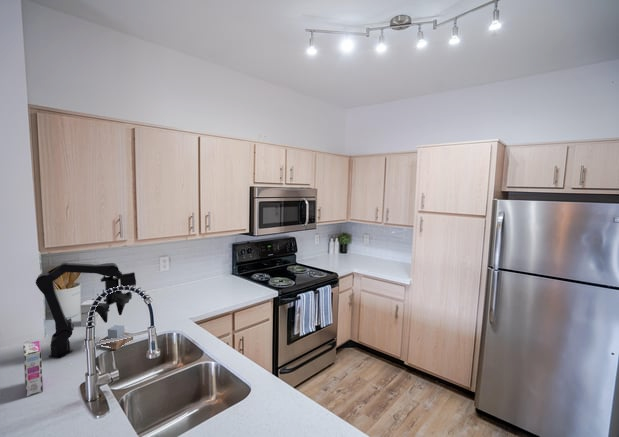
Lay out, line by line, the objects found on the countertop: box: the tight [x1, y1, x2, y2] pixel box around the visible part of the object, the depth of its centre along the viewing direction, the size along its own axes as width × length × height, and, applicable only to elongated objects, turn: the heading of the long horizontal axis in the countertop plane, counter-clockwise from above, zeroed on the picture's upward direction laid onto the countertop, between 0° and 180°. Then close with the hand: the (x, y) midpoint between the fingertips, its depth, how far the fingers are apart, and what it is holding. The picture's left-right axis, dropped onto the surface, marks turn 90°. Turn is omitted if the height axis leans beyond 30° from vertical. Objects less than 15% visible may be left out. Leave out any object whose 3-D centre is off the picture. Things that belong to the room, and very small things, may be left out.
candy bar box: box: [23, 340, 44, 398], centre depth 117 cm, size 11×5×16 cm, turn 44°
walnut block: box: [99, 332, 134, 351], centre depth 152 cm, size 10×10×4 cm
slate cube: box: [107, 324, 126, 339], centre depth 152 cm, size 5×5×5 cm
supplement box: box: [80, 299, 101, 327], centre depth 175 cm, size 7×7×13 cm
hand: (113, 318), depth 153 cm, fingers open, 9 cm apart
